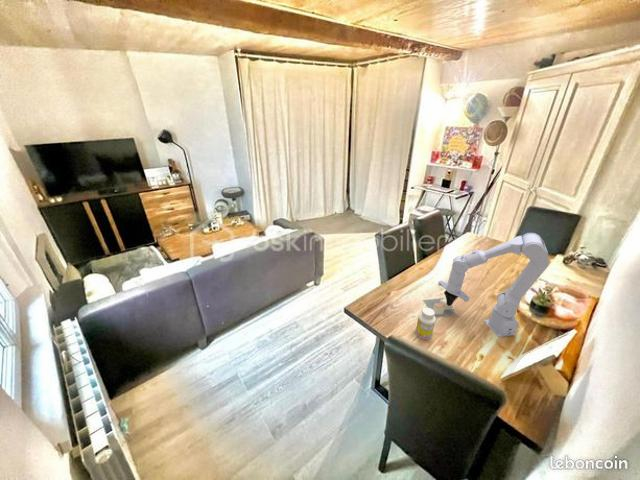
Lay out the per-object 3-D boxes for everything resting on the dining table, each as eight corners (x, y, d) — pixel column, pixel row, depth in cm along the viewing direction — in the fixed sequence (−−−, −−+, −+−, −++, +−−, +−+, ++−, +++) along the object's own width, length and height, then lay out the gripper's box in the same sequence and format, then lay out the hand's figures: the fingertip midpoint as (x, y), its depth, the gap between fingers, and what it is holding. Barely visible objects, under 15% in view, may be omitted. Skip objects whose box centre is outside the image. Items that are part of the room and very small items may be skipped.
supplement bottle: (418, 325, 110) (423, 303, 105) (433, 332, 106) (439, 310, 101) (413, 335, 106) (417, 312, 100) (428, 342, 102) (434, 319, 96)
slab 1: (443, 314, 116) (445, 306, 113) (435, 315, 115) (437, 306, 113) (440, 310, 118) (442, 302, 115) (432, 311, 117) (434, 303, 115)
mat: (457, 315, 115) (457, 314, 115) (435, 317, 114) (435, 317, 114) (442, 298, 126) (443, 298, 126) (422, 300, 125) (422, 300, 125)
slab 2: (452, 305, 117) (446, 298, 122) (445, 306, 117) (439, 299, 121) (451, 309, 118) (445, 302, 123) (444, 310, 118) (438, 303, 122)
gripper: (476, 287, 106) (469, 311, 113) (447, 271, 118) (441, 293, 124) (466, 292, 104) (459, 316, 110) (437, 275, 115) (432, 297, 121)
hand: (449, 304), depth 117 cm, fingers closed
